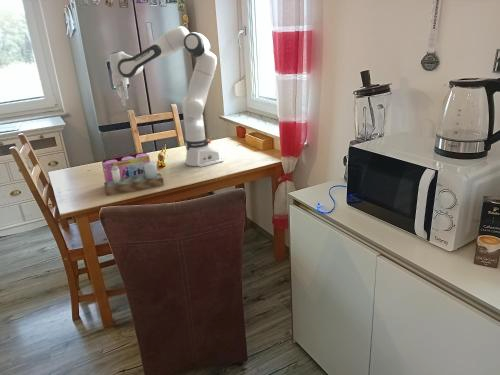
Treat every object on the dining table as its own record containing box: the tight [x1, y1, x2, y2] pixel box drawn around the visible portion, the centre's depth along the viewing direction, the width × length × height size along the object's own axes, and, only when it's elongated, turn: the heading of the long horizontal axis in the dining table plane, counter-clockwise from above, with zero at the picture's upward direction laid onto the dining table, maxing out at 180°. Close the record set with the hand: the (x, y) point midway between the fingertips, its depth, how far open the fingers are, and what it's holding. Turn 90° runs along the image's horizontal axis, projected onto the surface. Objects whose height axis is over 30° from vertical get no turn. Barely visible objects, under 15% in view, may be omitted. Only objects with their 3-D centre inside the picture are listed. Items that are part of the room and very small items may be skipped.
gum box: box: [101, 151, 151, 183], centre depth 207 cm, size 24×8×14 cm, turn 123°
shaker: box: [111, 166, 121, 184], centre depth 195 cm, size 4×4×9 cm
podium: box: [104, 173, 165, 196], centre depth 201 cm, size 28×8×4 cm, turn 114°
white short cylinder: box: [143, 161, 158, 179], centre depth 202 cm, size 6×6×7 cm
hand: (124, 105), depth 233 cm, fingers closed
